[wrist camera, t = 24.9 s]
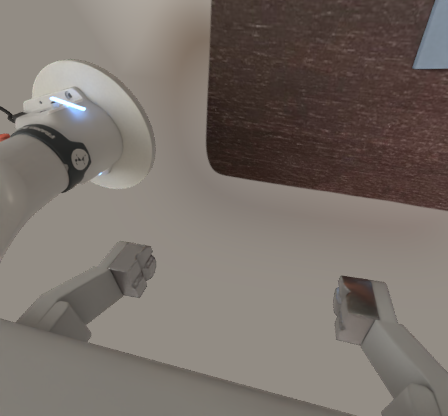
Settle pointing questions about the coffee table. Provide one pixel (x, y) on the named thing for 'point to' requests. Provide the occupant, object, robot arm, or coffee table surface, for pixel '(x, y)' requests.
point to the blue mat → (434, 40)
